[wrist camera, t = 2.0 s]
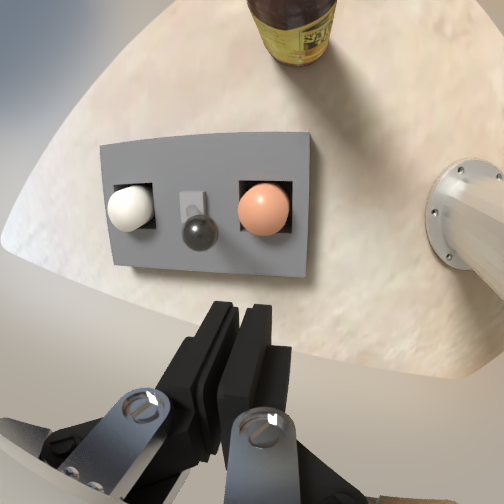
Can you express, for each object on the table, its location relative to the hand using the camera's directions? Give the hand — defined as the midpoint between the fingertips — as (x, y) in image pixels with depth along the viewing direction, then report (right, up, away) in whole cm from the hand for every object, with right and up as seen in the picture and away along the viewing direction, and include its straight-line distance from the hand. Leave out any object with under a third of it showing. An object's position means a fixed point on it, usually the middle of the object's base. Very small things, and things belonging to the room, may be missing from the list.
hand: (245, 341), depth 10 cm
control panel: (-5, +8, +23) cm, 25 cm away
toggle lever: (-6, +7, +19) cm, 21 cm away
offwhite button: (-12, +8, +23) cm, 27 cm away
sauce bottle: (+5, +24, +15) cm, 29 cm away
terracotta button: (+2, +8, +20) cm, 22 cm away
